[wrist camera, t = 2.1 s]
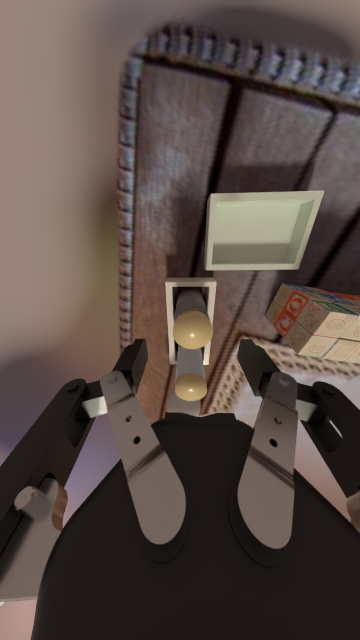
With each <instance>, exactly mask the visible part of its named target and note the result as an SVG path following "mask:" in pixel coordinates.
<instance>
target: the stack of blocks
mask: <svg viewBox="0 0 360 640" xmlns="http://www.w3.org/2000/svg"><path fill="white" fill-rule="evenodd" d="M265 317H266V318H267V319H268V320H269V322H270V323H271V324H272V325H273V326H274V328H275V329H276V330H277V331H278V332H279V333H280V334H281V335H282V336H283V337H284V338H285V341H286V342H287V343H288V344H289V345H290V346H291V347H292V349H293V350H294V351H295V352H296V353H297V354H298V355H304V356H312V357H321V358H323V359H331V360H338V361H345V362H351V363H360V296H359V295H356V296H354V295H349V294H343V293H335V292H330V291H324V290H321V289H317V288H312V287H306V286H299V285H293V284H287V283H282V285H281V286H280V288H279V290H278V292H277V294H276V296H275V298H274V300H273V301H272V303H271V305H270V307H269V309H268V311H267V313H266V315H265Z"/></svg>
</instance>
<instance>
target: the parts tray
mask: <svg viewBox="0 0 360 640" xmlns="http://www.w3.org/2000/svg"><path fill="white" fill-rule="evenodd" d="M323 194H324V191H294V192H257V193H220V194H210V196H209V198H208V201H207V218H206V236H205V254H204V268H205V270H294V269H299V266H300V263H301V260H302V257H303V254H304V251H305V248H306V245H307V242H308V239H309V236H310V233H311V230H312V227H313V224H314V221H315V218H316V215H317V212H318V209H319V206H320V203H321V200H322V197H323Z"/></svg>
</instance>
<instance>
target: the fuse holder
mask: <svg viewBox="0 0 360 640" xmlns="http://www.w3.org/2000/svg"><path fill="white" fill-rule="evenodd" d="M165 283H166V300H167V318H168V335H169V353H170V364H177V356H178V351H176V341H175V339H174V337H173V325H174V319H175V308H174V287H206V300H205V306H206V309H207V312H208V315H209V318H210V322H211V325H212V323H213V313H214V302H215V292H216V281H215V279H214V278H213V277H208V278H167V280H166V282H165ZM210 343H211V340H210V341H209V342H208V343H207V344H206V345H205V346H203V347H202V351H201V352H202V359H203V365H208V364H209V354H210Z"/></svg>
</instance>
